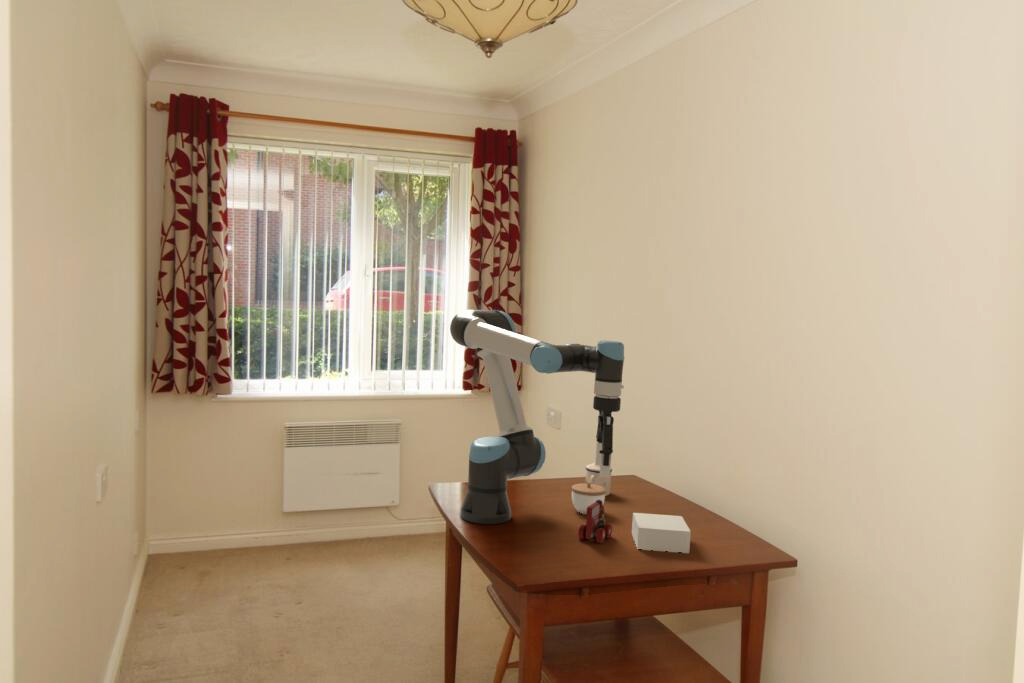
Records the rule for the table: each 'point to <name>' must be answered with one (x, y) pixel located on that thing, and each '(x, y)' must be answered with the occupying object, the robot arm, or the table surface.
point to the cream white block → (660, 532)
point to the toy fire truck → (595, 523)
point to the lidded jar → (586, 495)
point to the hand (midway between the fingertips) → (602, 471)
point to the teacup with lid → (597, 477)
